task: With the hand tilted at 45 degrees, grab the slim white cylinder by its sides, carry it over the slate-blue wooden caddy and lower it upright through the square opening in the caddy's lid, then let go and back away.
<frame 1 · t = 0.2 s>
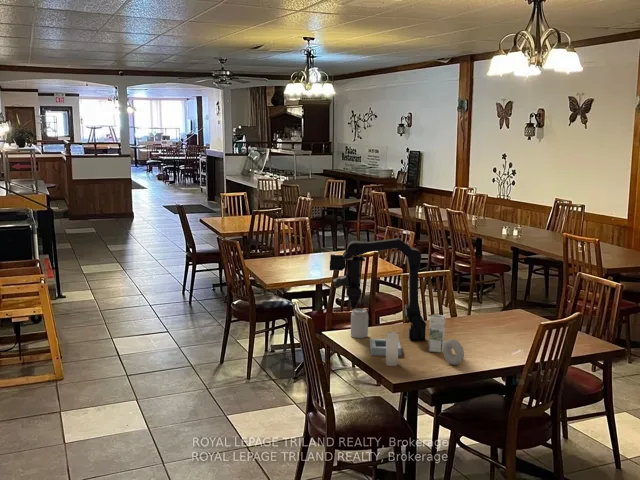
hand: (352, 306, 272), 15 cm above the table, tool pointing down, fingers open, 9 cm apart
donut: (452, 364, 244), on the table
syrup box: (436, 350, 260), on the table
caddy: (385, 350, 260), on the table
can: (359, 337, 278), on the table
white cylinder: (391, 363, 244), on the table
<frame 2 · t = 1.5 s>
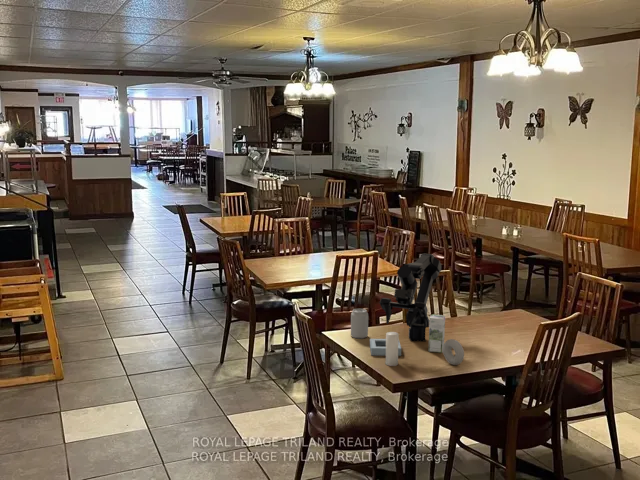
hand: (398, 324, 249), 13 cm above the table, tool tilted 45°, fingers open, 9 cm apart
nothing on the table moved.
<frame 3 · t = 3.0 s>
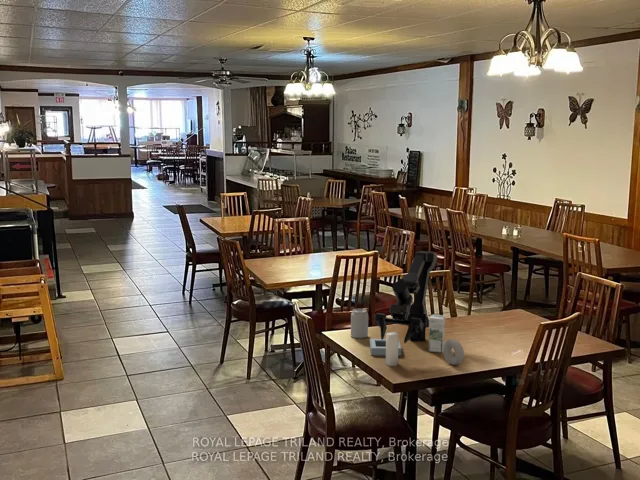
hand: (393, 341, 244), 9 cm above the table, tool tilted 45°, fingers open, 9 cm apart
nothing on the table moved.
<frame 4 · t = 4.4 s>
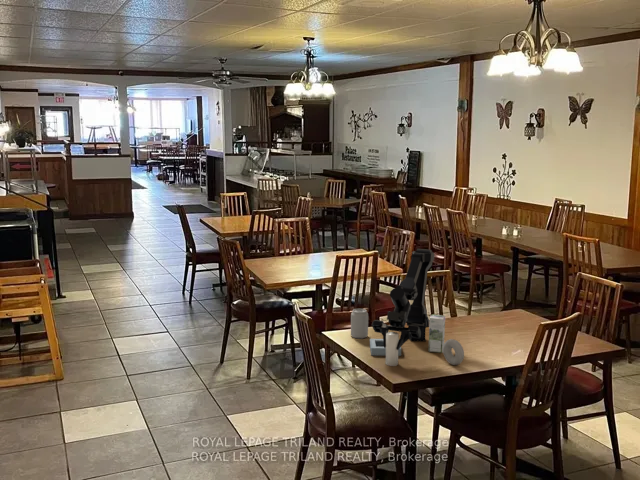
hand: (390, 348, 242), 7 cm above the table, tool tilted 45°, fingers closed on white cylinder, 5 cm apart
white cylinder: (391, 363, 244), on the table, touching gripper
everything else where it was.
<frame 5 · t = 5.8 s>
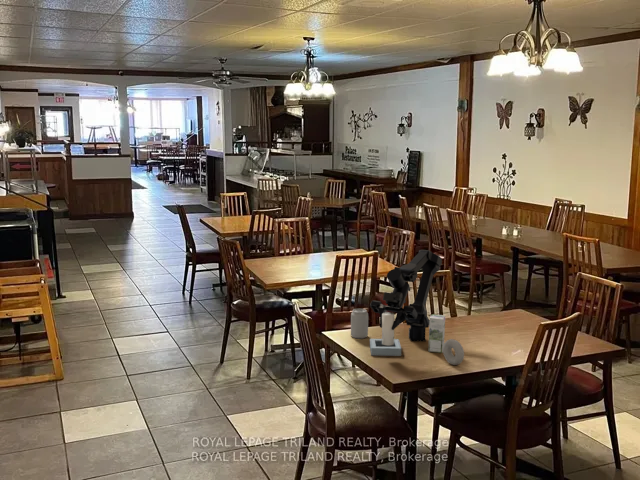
hand: (386, 328, 247), 13 cm above the table, tool tilted 45°, fingers closed on white cylinder, 5 cm apart
white cylinder: (387, 343, 249), point 6 cm above the table, touching gripper
everything else where it was.
when the fingers open (9 cm above the table, at t = 7.4 s): white cylinder drops 2 cm, resting on caddy.
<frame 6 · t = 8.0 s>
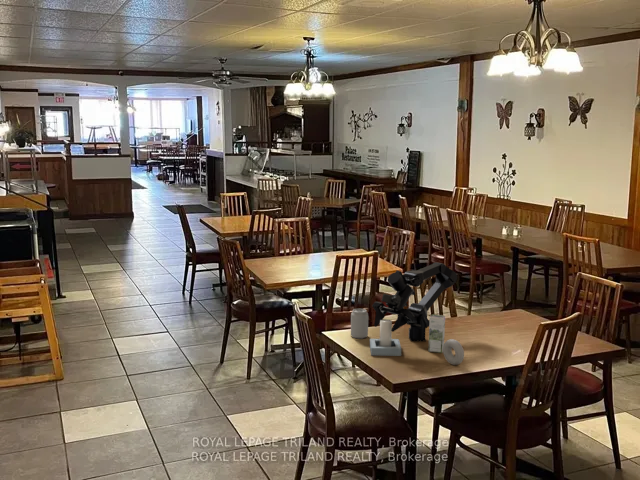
hand: (383, 328, 257), 10 cm above the table, tool tilted 45°, fingers open, 9 cm apart
white cylinder: (385, 349, 259), resting on caddy
everything else where it was.
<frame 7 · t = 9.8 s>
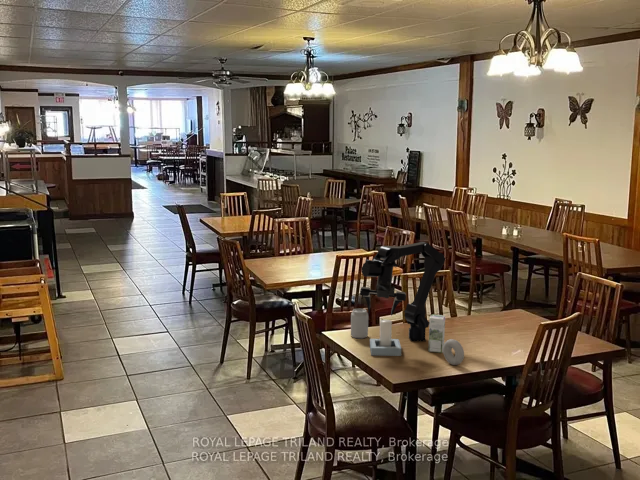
hand: (380, 314, 262), 14 cm above the table, tool pointing down, fingers open, 9 cm apart
nothing on the table moved.
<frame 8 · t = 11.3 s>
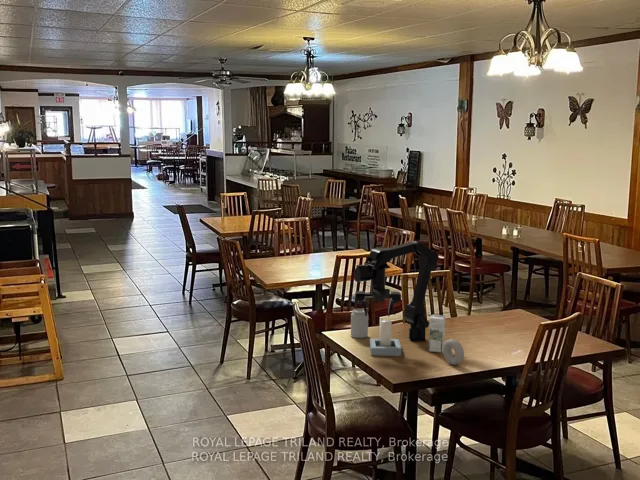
hand: (377, 316, 262), 13 cm above the table, tool pointing down, fingers open, 9 cm apart
nothing on the table moved.
at the end: white cylinder 0.0 cm off-centre on the caddy, point 0.4 cm above the caddy's base; white cylinder tilted 1°; the gripper is holding nothing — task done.
